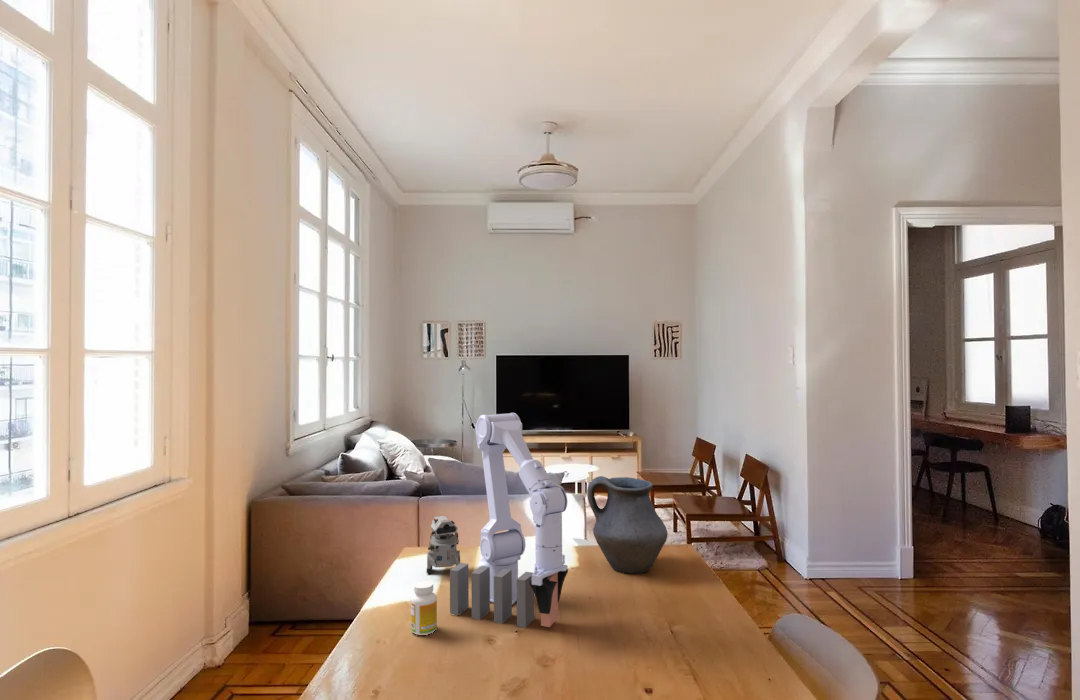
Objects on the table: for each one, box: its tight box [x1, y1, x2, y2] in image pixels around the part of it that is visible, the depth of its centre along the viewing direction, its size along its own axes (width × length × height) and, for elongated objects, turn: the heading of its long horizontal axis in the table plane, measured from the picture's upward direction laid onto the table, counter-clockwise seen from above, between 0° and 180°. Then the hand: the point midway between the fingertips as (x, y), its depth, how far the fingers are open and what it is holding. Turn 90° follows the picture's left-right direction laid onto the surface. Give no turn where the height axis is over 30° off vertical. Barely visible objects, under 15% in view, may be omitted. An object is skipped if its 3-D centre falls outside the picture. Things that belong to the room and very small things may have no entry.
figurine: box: [426, 515, 461, 574], centre depth 159 cm, size 9×12×15 cm
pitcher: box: [586, 475, 669, 574], centre depth 163 cm, size 21×22×25 cm
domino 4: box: [516, 571, 536, 629], centre depth 129 cm, size 2×5×10 cm, turn 158°
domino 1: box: [449, 562, 470, 616], centre depth 135 cm, size 2×5×10 cm, turn 158°
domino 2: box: [470, 566, 491, 620], centre depth 133 cm, size 2×5×10 cm, turn 158°
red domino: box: [540, 572, 559, 628], centre depth 127 cm, size 2×5×10 cm, turn 158°
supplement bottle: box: [410, 580, 438, 635], centre depth 125 cm, size 5×5×10 cm
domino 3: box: [493, 569, 513, 625], centre depth 131 cm, size 2×5×10 cm, turn 158°
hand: (549, 607), depth 127 cm, fingers closed on red domino, 5 cm apart
